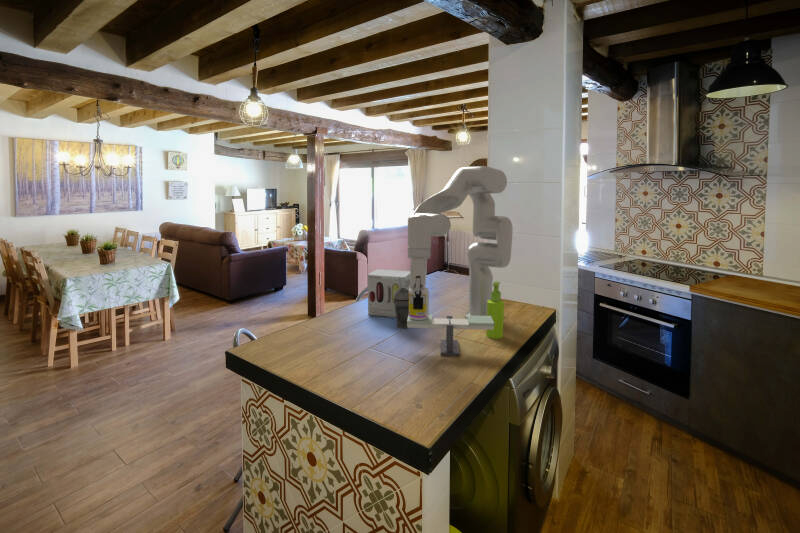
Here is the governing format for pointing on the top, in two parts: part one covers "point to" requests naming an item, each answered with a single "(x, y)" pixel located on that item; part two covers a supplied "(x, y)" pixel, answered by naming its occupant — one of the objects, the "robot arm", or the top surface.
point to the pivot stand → (449, 342)
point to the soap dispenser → (495, 313)
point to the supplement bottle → (423, 313)
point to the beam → (453, 322)
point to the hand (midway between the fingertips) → (418, 305)
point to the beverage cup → (401, 306)
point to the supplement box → (385, 290)
